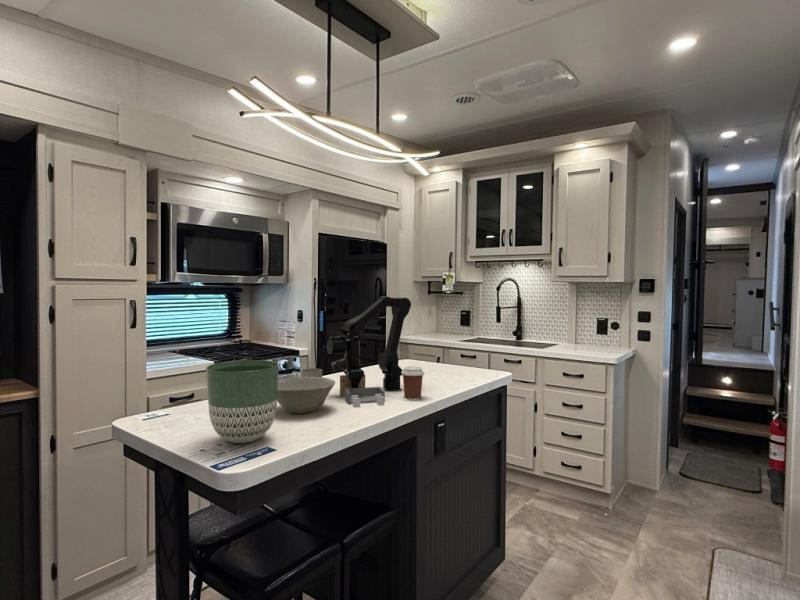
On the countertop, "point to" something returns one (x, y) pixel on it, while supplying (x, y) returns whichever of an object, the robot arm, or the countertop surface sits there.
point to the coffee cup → (412, 382)
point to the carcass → (365, 396)
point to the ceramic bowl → (303, 393)
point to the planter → (242, 398)
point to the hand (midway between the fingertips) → (352, 390)
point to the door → (349, 384)
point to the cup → (311, 372)
